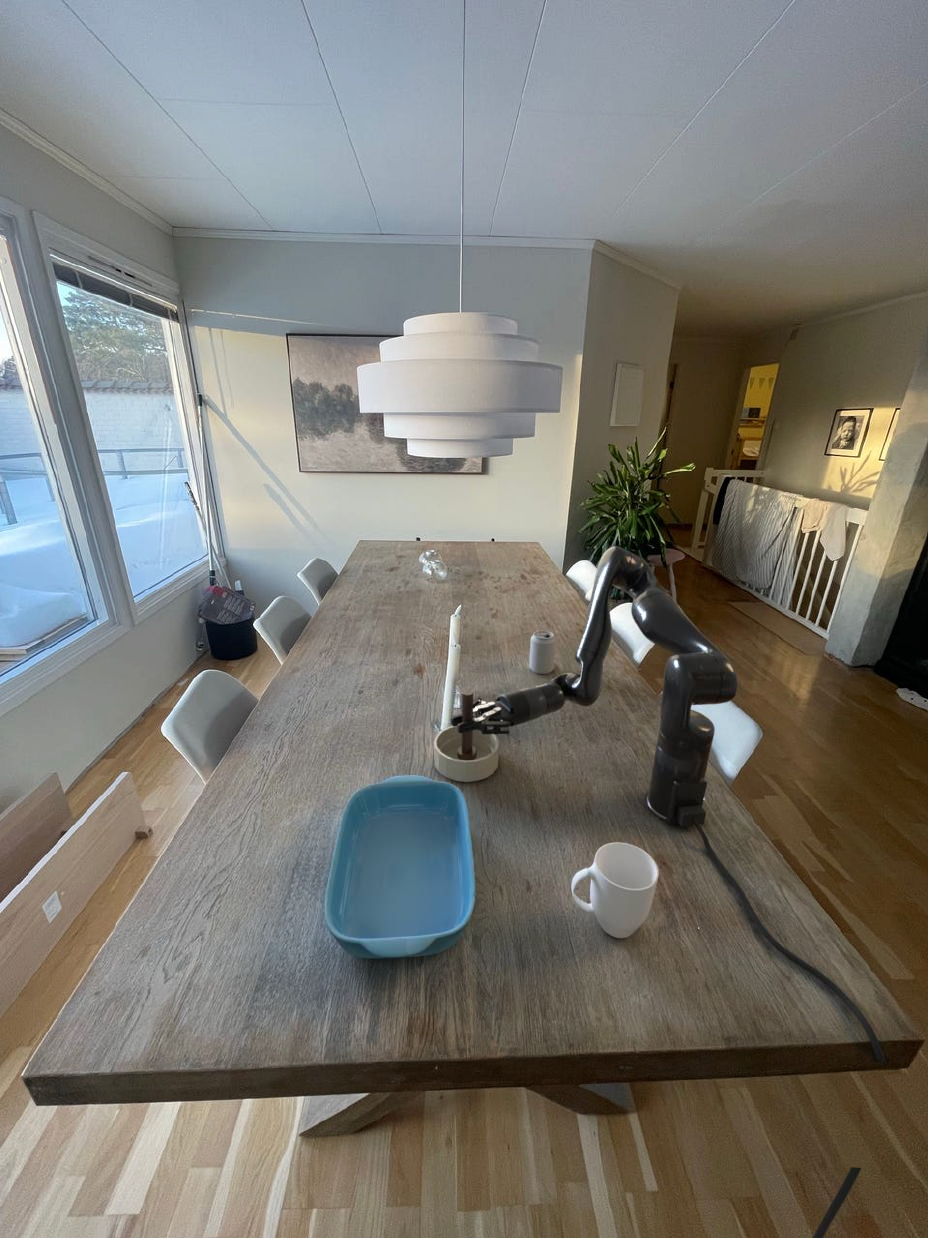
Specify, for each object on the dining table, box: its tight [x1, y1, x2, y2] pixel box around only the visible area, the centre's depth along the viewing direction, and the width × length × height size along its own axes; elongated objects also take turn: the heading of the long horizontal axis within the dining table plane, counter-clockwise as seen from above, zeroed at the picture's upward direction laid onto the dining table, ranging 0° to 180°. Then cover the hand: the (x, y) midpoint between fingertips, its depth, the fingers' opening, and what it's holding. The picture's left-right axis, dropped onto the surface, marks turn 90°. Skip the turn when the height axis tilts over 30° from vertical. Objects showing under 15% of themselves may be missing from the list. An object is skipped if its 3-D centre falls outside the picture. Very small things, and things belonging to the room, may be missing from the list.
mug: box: [570, 841, 660, 939], centre depth 76 cm, size 12×9×12 cm
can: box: [528, 630, 557, 675], centre depth 155 cm, size 8×8×12 cm
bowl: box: [433, 725, 500, 783], centre depth 114 cm, size 14×14×6 cm
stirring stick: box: [457, 689, 477, 761], centre depth 111 cm, size 4×4×16 cm
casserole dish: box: [323, 774, 476, 959], centre depth 84 cm, size 37×22×7 cm, turn 4°
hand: (455, 725), depth 110 cm, fingers closed on stirring stick, 2 cm apart
